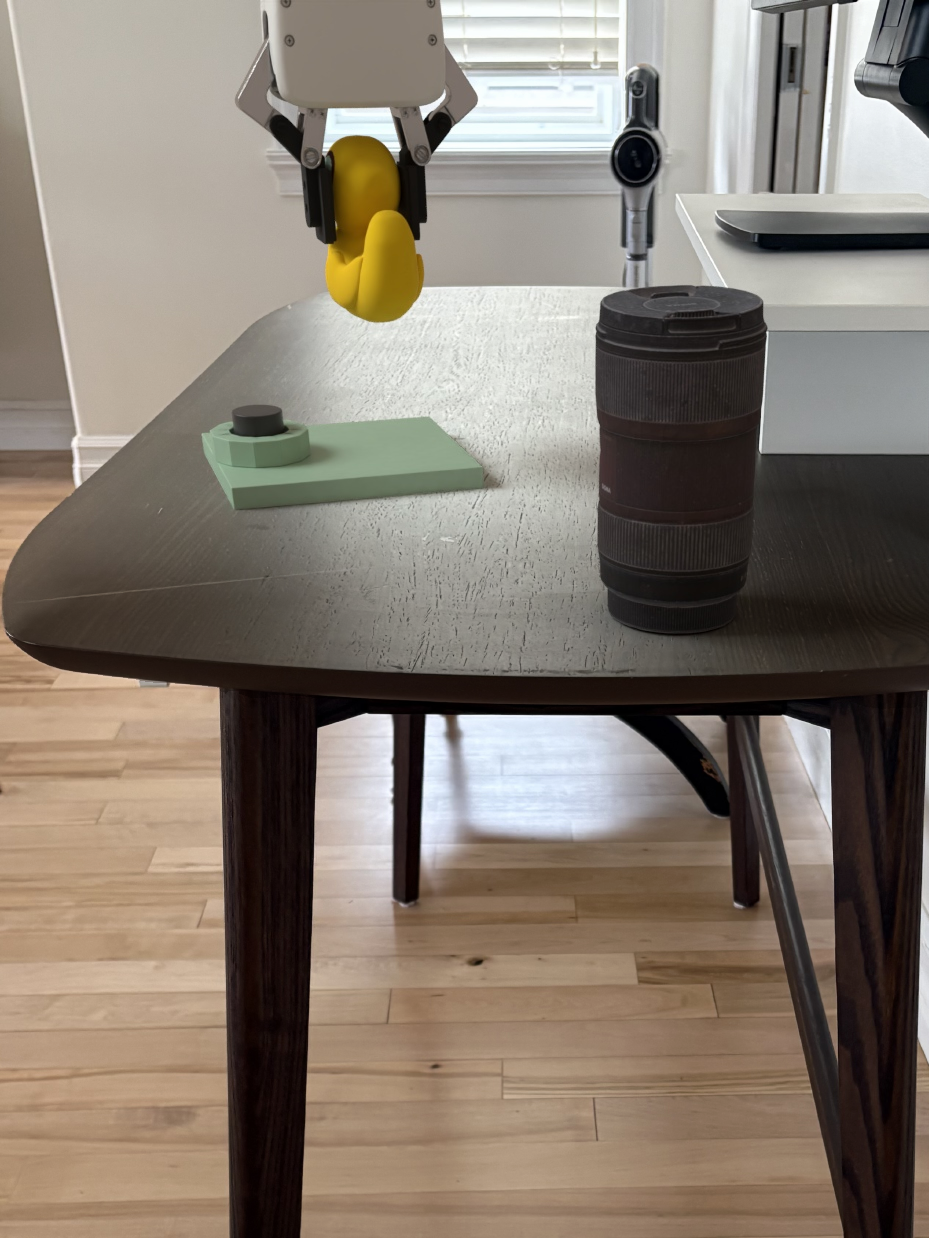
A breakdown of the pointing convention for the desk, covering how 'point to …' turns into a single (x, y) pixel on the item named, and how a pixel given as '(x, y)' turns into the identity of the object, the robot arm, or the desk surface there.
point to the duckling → (370, 234)
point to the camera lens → (677, 451)
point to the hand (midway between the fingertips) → (367, 236)
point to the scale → (338, 462)
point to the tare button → (258, 421)
